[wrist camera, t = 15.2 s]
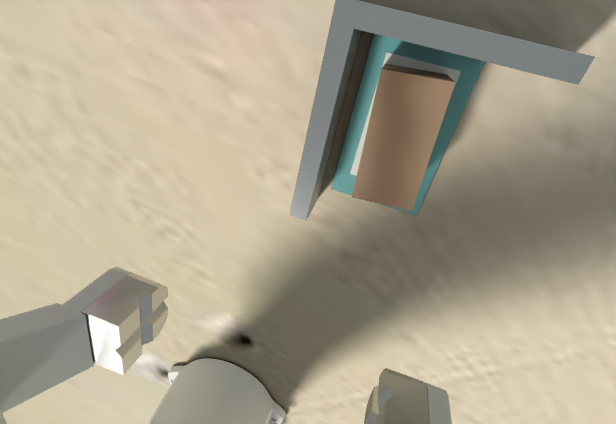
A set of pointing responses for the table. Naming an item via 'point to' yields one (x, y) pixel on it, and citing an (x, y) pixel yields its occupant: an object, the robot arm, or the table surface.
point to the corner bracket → (413, 54)
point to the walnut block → (401, 134)
